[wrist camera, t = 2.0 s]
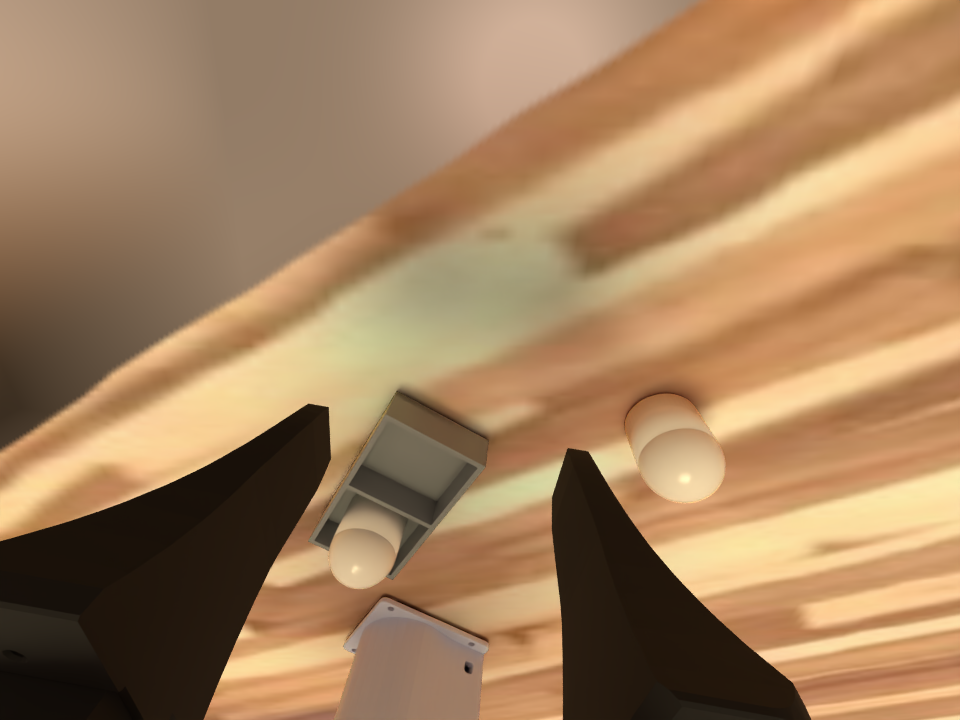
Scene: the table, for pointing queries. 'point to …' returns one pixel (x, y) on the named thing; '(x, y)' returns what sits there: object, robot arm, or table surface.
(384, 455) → the egg carton
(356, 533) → the carton egg
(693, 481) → the cream rounded cylinder
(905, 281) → the table surface
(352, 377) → the table surface
